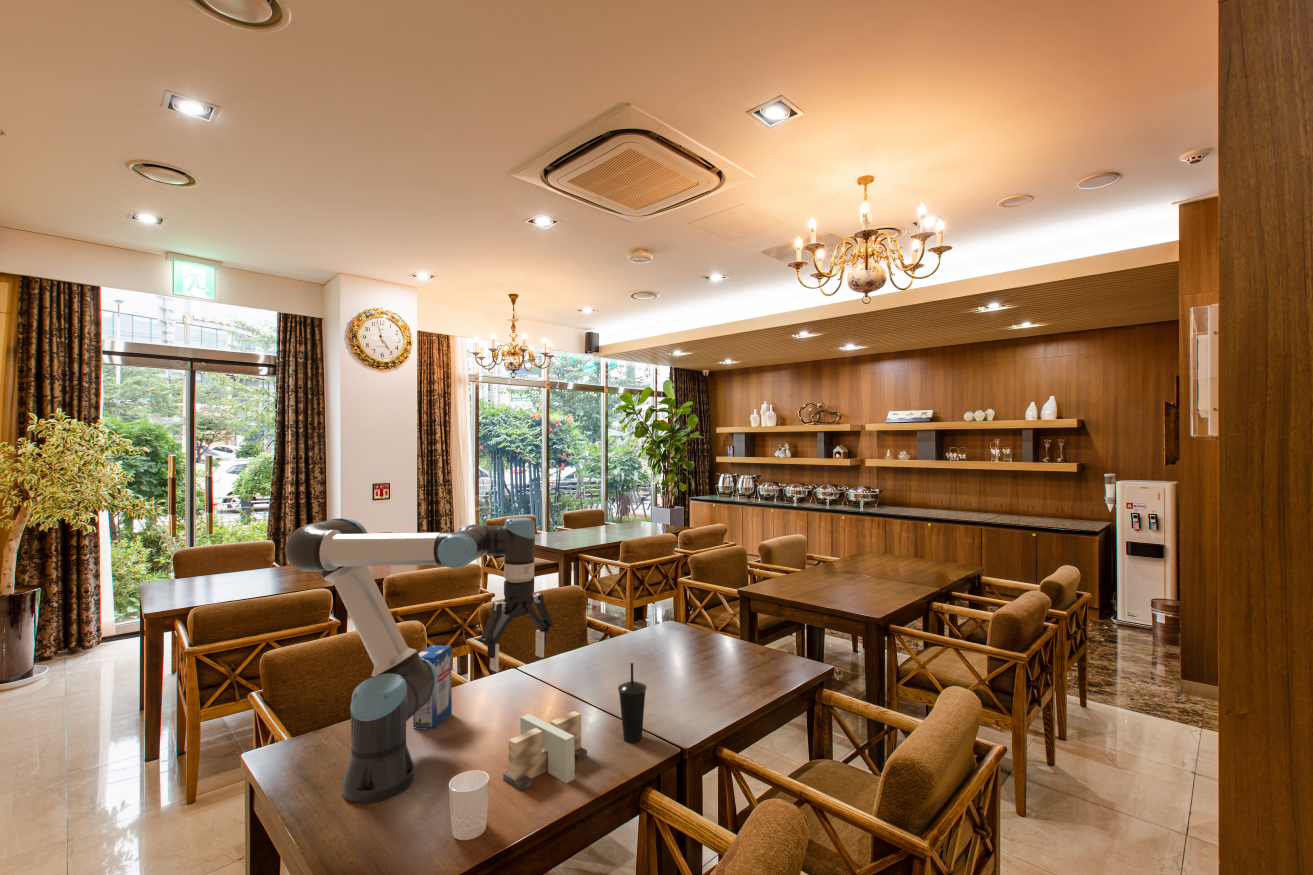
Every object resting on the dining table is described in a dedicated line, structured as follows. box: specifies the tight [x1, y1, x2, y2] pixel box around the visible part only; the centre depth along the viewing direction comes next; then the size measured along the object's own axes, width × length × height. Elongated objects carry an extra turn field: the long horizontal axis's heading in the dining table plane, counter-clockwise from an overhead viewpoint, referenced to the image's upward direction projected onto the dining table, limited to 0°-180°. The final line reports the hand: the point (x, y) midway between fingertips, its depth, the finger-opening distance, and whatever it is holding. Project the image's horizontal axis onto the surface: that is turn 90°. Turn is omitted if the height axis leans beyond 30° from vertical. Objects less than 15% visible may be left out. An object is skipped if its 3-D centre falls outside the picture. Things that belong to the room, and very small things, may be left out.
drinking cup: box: [617, 662, 647, 744], centre depth 157 cm, size 8×8×20 cm
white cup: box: [448, 769, 490, 841], centre depth 120 cm, size 8×8×10 cm
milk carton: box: [412, 644, 453, 730], centre depth 169 cm, size 10×6×20 cm, turn 171°
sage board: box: [519, 713, 576, 784], centre depth 143 cm, size 18×2×10 cm, turn 48°
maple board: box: [502, 710, 588, 792], centre depth 143 cm, size 20×7×10 cm, turn 138°
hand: (517, 662), depth 149 cm, fingers open, 13 cm apart
